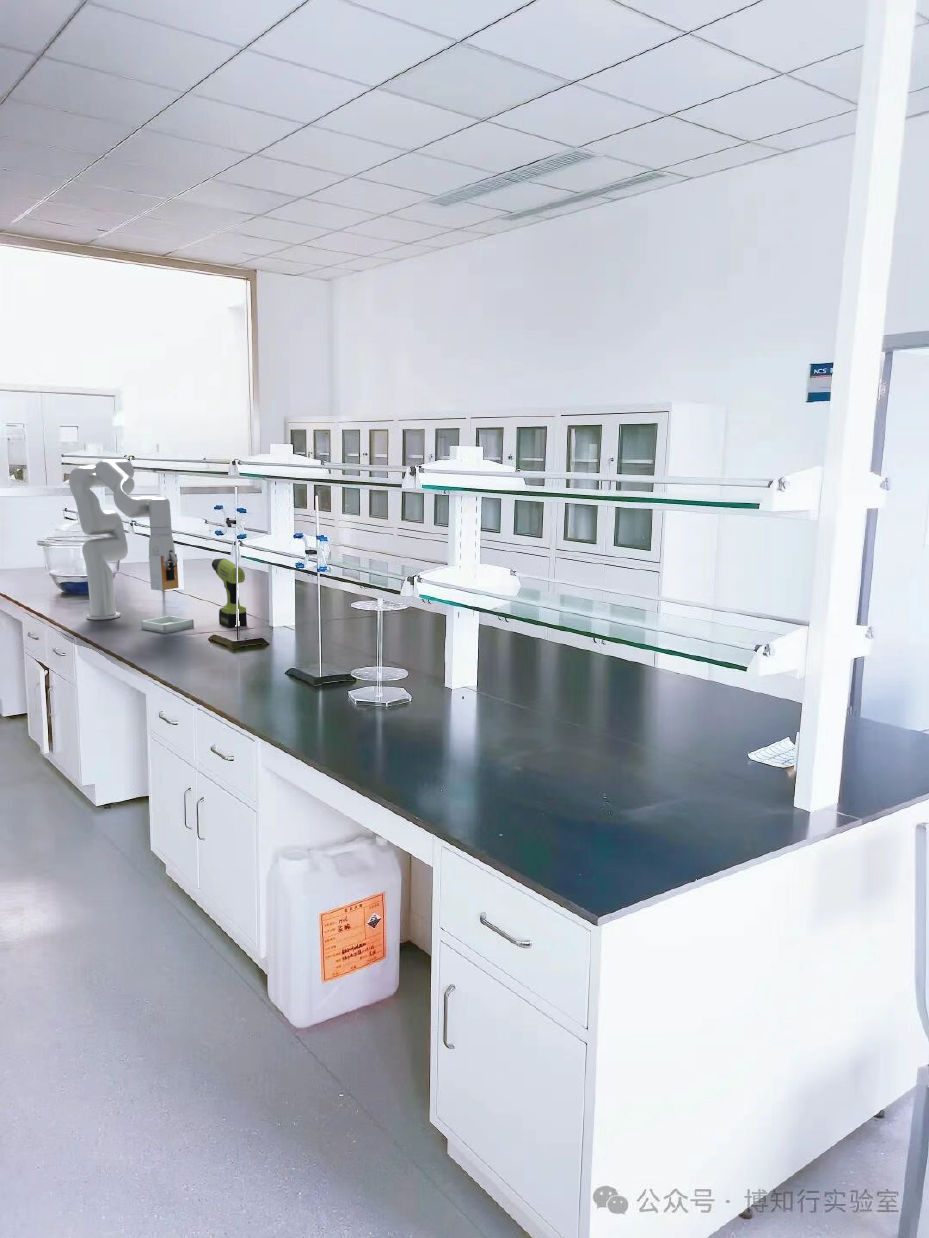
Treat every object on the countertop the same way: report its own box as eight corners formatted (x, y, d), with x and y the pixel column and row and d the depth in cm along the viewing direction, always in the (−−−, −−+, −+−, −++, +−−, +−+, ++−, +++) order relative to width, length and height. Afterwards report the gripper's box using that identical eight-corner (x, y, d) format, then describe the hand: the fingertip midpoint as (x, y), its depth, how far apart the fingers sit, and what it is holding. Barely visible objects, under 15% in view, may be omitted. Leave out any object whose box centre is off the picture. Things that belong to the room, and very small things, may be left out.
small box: (162, 591, 337) (160, 555, 335) (150, 589, 340) (148, 555, 338) (179, 587, 344) (177, 553, 342) (167, 586, 347) (164, 552, 345)
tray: (141, 628, 344) (141, 621, 343) (170, 623, 354) (170, 615, 354) (164, 633, 336) (164, 625, 335) (193, 627, 346) (193, 619, 345)
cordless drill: (208, 620, 360) (204, 557, 355) (225, 617, 364) (221, 555, 359) (232, 629, 342) (228, 563, 337) (249, 626, 346) (246, 561, 341)
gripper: (138, 531, 340) (141, 578, 343) (167, 533, 330) (170, 582, 333) (155, 529, 346) (158, 576, 349) (184, 532, 336) (187, 580, 339)
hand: (164, 578), depth 341 cm, fingers closed on small box, 6 cm apart
